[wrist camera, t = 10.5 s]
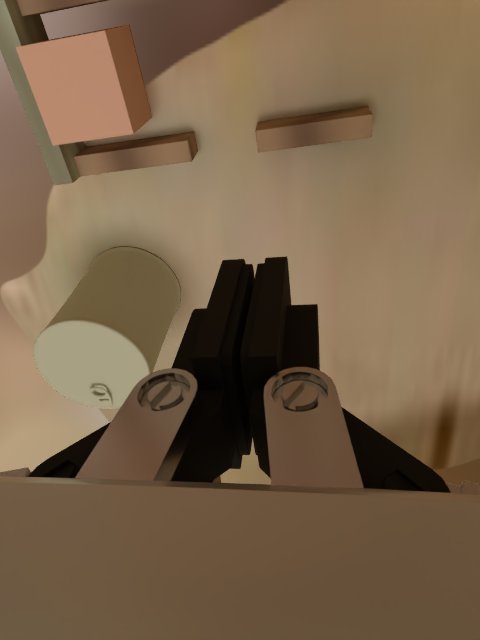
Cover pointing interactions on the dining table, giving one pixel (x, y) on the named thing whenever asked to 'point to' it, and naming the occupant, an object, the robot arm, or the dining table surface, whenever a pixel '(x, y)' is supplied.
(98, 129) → the block
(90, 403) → the can
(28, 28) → the channel
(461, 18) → the dining table surface
